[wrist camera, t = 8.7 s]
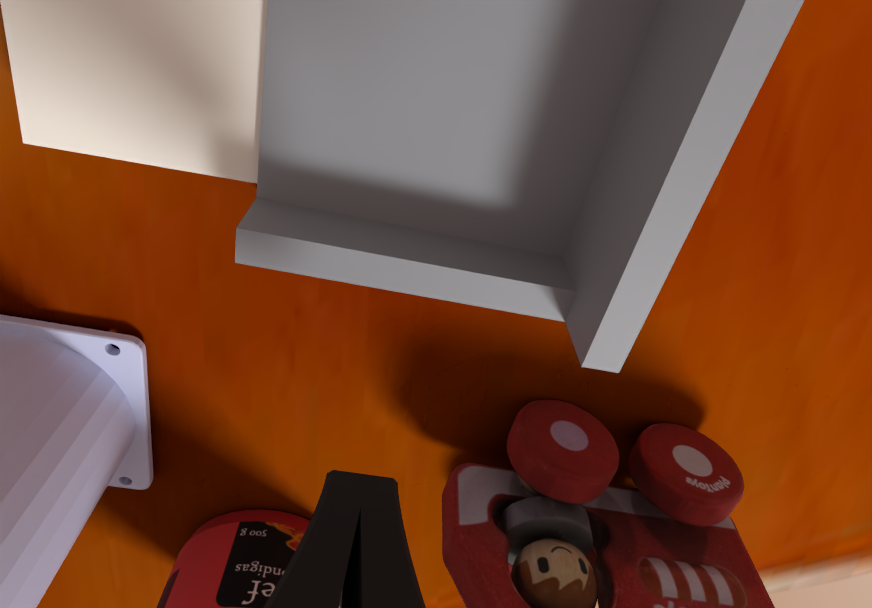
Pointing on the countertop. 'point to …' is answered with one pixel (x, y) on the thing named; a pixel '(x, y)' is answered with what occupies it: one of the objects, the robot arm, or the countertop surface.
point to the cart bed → (502, 147)
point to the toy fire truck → (598, 520)
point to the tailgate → (142, 80)
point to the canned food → (234, 560)
